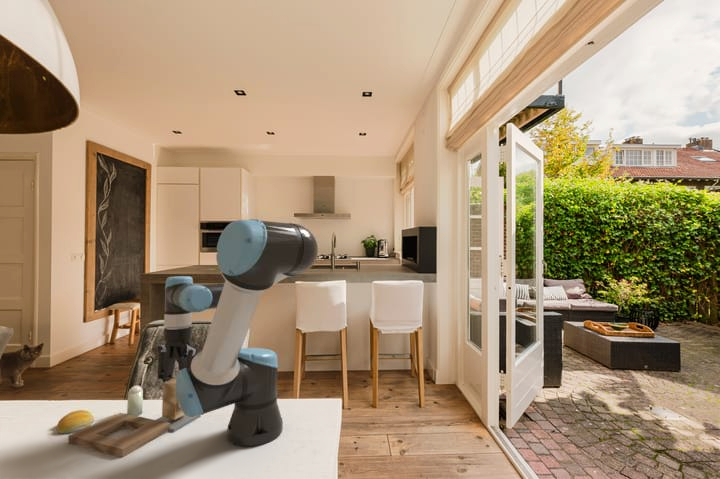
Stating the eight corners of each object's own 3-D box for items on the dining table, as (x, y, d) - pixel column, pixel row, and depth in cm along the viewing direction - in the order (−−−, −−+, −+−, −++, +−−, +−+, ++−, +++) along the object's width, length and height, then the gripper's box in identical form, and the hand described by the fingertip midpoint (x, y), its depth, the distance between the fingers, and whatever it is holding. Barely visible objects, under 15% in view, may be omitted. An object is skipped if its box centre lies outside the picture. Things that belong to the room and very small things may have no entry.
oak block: (188, 412, 104) (189, 379, 105) (174, 419, 99) (176, 385, 100) (175, 410, 106) (176, 377, 106) (162, 417, 101) (163, 383, 101)
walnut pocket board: (170, 430, 97) (170, 423, 97) (122, 457, 84) (122, 449, 84) (119, 419, 103) (120, 412, 104) (68, 443, 90) (68, 435, 90)
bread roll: (57, 438, 93) (57, 423, 93) (57, 425, 100) (58, 412, 100) (94, 428, 99) (95, 414, 99) (92, 417, 105) (93, 404, 106)
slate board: (200, 416, 106) (200, 413, 106) (173, 432, 96) (174, 429, 96) (175, 411, 109) (176, 409, 109) (147, 426, 99) (147, 423, 99)
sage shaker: (145, 412, 108) (146, 384, 109) (133, 418, 104) (134, 389, 105) (136, 410, 109) (137, 382, 110) (123, 416, 106) (125, 387, 106)
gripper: (210, 326, 105) (208, 403, 103) (166, 322, 110) (163, 395, 109) (191, 331, 97) (189, 413, 96) (145, 327, 103) (142, 404, 102)
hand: (175, 403), depth 103 cm, fingers closed on oak block, 5 cm apart
